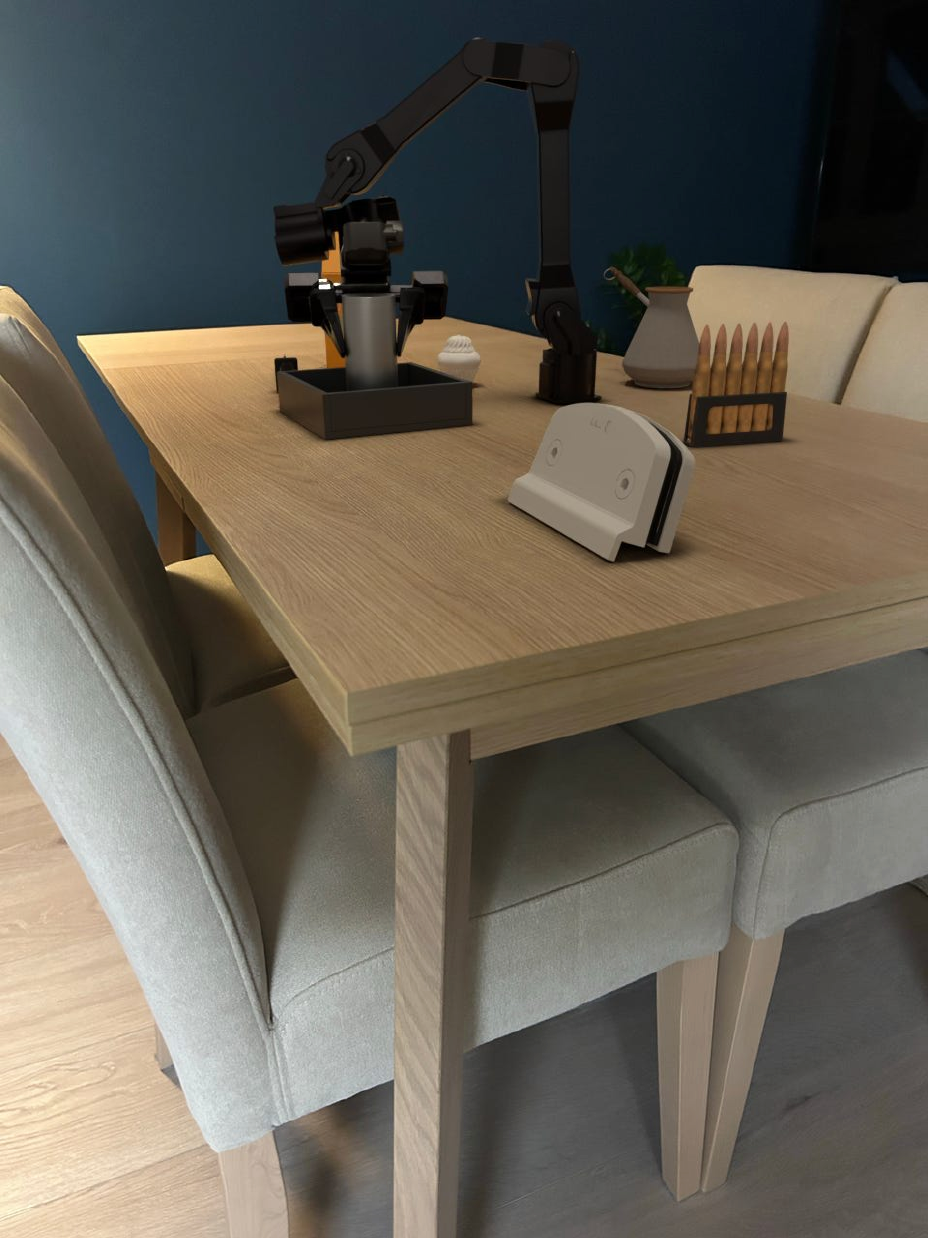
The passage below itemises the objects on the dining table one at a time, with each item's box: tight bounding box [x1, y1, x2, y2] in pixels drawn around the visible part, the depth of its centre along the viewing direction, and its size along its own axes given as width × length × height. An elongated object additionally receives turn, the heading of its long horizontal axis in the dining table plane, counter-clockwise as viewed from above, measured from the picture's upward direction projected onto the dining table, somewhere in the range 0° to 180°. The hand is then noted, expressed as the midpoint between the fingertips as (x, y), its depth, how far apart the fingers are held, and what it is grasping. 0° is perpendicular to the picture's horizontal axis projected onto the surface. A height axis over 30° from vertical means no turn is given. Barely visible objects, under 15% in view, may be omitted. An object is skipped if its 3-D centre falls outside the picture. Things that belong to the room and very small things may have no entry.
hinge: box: [507, 402, 696, 563], centre depth 71 cm, size 17×5×10 cm, turn 23°
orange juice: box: [320, 232, 346, 368], centre depth 140 cm, size 8×9×20 cm
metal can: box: [342, 293, 398, 391], centre depth 108 cm, size 6×6×13 cm
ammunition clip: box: [682, 321, 790, 448], centre depth 96 cm, size 11×2×12 cm, turn 105°
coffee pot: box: [603, 265, 700, 389], centre depth 133 cm, size 21×12×15 cm, turn 24°
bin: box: [277, 361, 474, 441], centre depth 110 cm, size 18×18×5 cm
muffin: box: [436, 333, 482, 383], centre depth 130 cm, size 6×6×7 cm
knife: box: [273, 354, 299, 392], centre depth 129 cm, size 31×3×4 cm, turn 8°
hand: (371, 354), depth 107 cm, fingers closed on metal can, 6 cm apart
